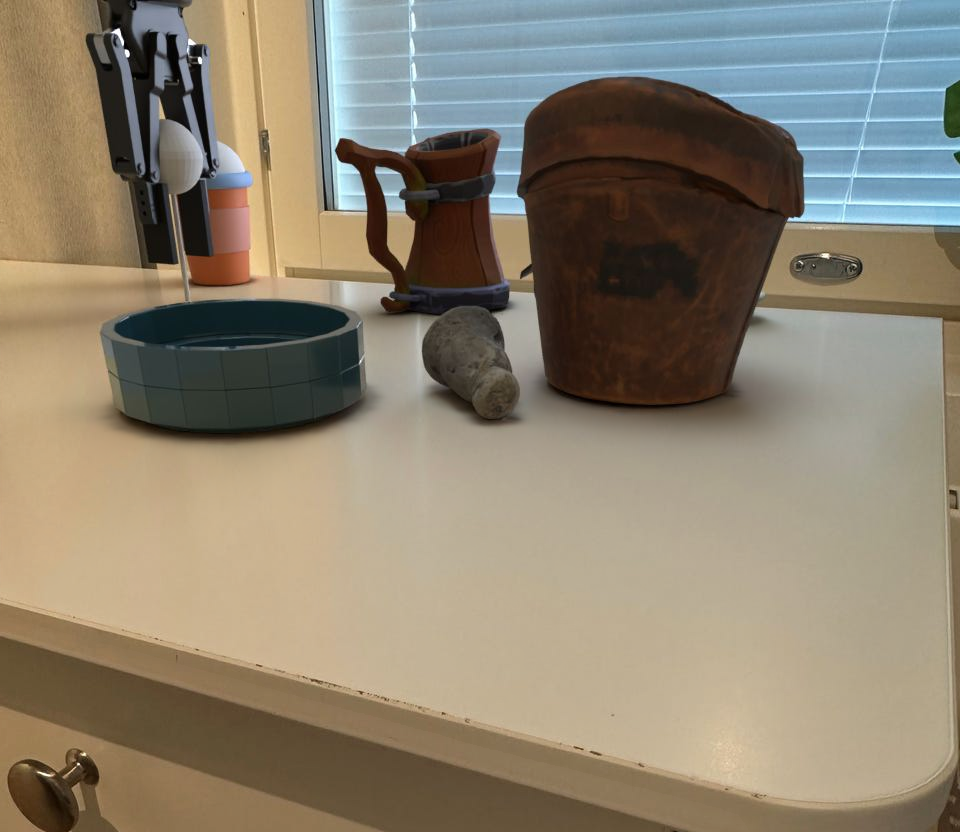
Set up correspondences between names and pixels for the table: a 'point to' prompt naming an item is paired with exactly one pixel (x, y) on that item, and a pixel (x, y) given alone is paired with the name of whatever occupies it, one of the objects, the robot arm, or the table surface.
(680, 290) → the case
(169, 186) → the lollipop
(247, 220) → the cup with straw
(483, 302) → the mug
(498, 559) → the table surface
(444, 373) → the stone
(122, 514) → the table surface
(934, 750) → the table surface
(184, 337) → the bowl
